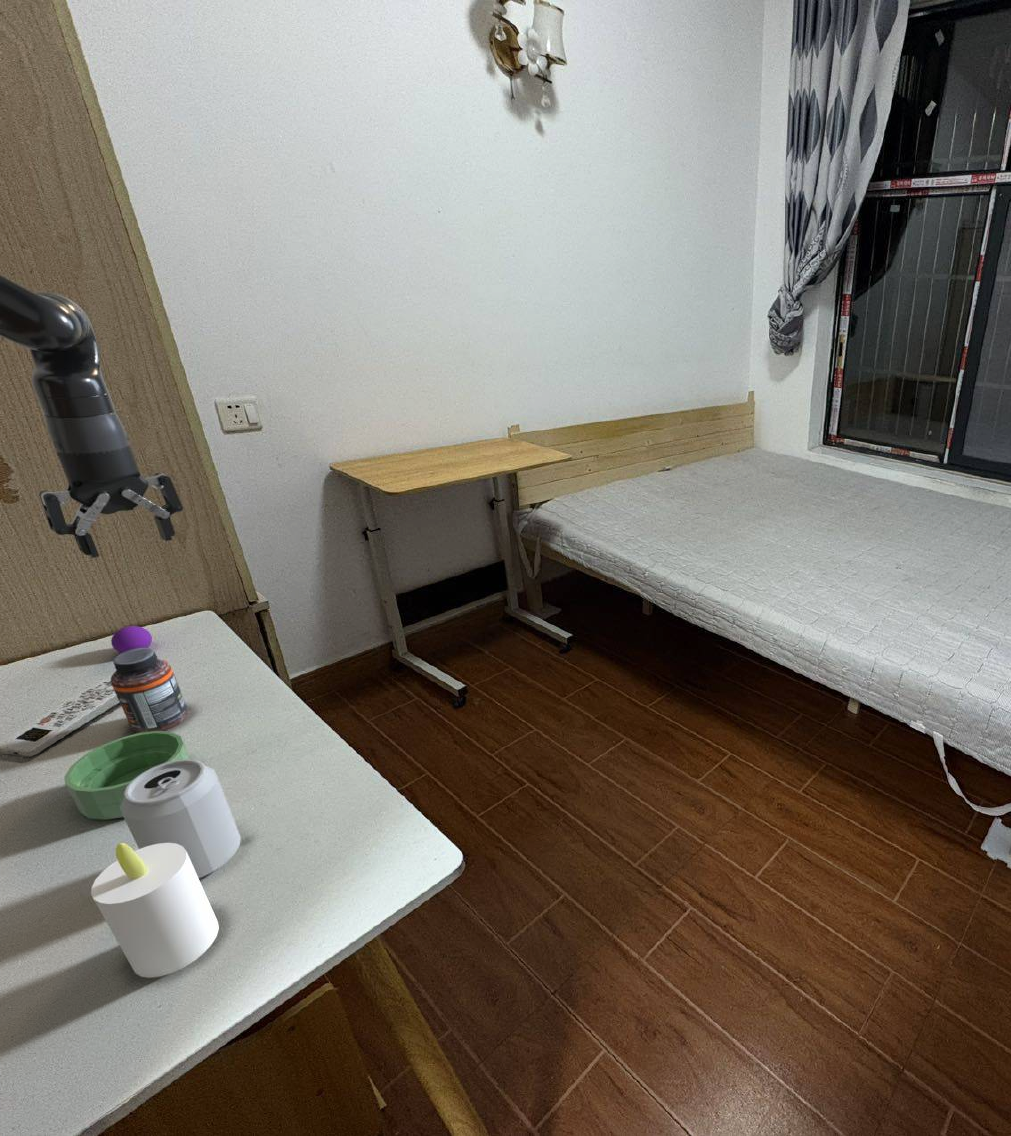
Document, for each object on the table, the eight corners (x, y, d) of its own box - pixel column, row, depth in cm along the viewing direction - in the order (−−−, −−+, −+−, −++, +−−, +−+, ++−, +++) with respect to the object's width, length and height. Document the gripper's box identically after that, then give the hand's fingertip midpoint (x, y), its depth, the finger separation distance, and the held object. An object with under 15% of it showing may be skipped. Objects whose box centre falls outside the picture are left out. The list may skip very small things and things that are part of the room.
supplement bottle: (126, 723, 86) (96, 655, 81) (181, 703, 90) (155, 638, 85) (140, 742, 83) (109, 673, 78) (196, 720, 87) (170, 654, 82)
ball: (109, 660, 98) (98, 635, 96) (131, 644, 102) (121, 620, 100) (142, 660, 98) (132, 635, 96) (163, 644, 102) (154, 620, 101)
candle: (222, 903, 64) (176, 796, 58) (216, 957, 59) (165, 847, 53) (139, 933, 61) (81, 823, 54) (126, 992, 56) (61, 880, 49)
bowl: (55, 826, 70) (37, 793, 68) (125, 761, 80) (111, 731, 78) (157, 821, 72) (142, 789, 70) (214, 759, 81) (203, 729, 79)
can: (224, 822, 73) (193, 743, 68) (256, 852, 70) (225, 772, 64) (141, 867, 67) (101, 784, 62) (172, 903, 64) (131, 819, 58)
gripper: (146, 432, 95) (178, 528, 102) (10, 447, 84) (57, 555, 91) (167, 441, 92) (199, 540, 99) (29, 458, 81) (76, 569, 88)
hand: (131, 547), depth 95 cm, fingers open, 8 cm apart
